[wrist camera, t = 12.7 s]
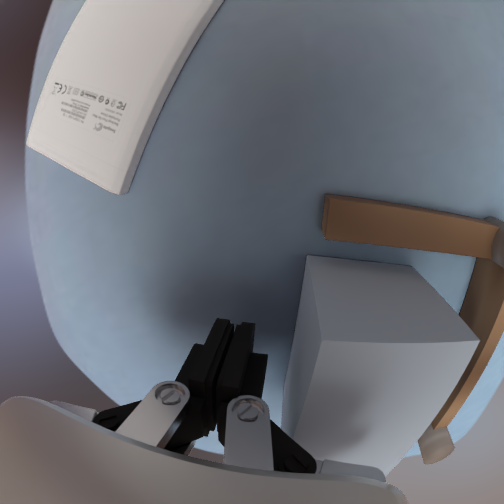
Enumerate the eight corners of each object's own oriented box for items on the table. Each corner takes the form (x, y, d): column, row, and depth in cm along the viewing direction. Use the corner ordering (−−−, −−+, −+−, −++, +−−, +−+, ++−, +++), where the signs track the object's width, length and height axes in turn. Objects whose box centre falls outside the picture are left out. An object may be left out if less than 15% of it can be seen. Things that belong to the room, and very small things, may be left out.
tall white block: (306, 255, 12) (322, 340, 6) (411, 266, 11) (480, 340, 6) (283, 388, 14) (277, 480, 9) (366, 392, 14) (385, 476, 8)
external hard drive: (247, -21, 8) (133, 192, 13) (126, -32, 8) (40, 142, 12) (241, -38, 7) (115, 197, 11) (114, -43, 7) (21, 144, 11)
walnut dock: (325, 187, 11) (346, 205, 7) (503, 219, 10) (560, 246, 6) (288, 415, 15) (283, 475, 11) (427, 412, 14) (443, 460, 10)
